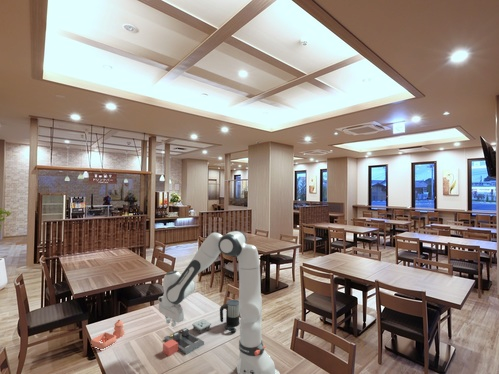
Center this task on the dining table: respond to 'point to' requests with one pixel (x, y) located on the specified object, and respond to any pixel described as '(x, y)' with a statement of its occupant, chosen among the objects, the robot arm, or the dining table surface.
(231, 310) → the milk frother
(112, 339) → the pottery
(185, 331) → the breaker
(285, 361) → the dining table surface
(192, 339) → the panel
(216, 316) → the dining table surface
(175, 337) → the block
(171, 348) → the lockout cap
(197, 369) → the dining table surface
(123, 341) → the dining table surface
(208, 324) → the electrical switch
